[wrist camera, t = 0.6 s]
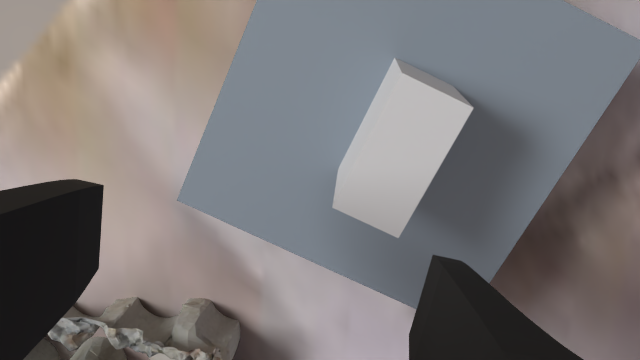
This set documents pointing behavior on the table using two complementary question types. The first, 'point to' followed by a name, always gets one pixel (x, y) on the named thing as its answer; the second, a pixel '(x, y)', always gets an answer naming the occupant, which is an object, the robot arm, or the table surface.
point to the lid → (403, 129)
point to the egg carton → (144, 333)
